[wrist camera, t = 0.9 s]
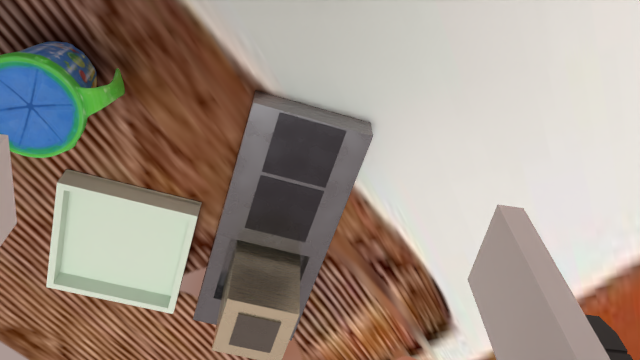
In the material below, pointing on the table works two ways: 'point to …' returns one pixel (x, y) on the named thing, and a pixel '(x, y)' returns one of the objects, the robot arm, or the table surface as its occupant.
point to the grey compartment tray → (286, 190)
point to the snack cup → (50, 97)
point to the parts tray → (120, 241)
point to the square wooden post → (258, 302)
